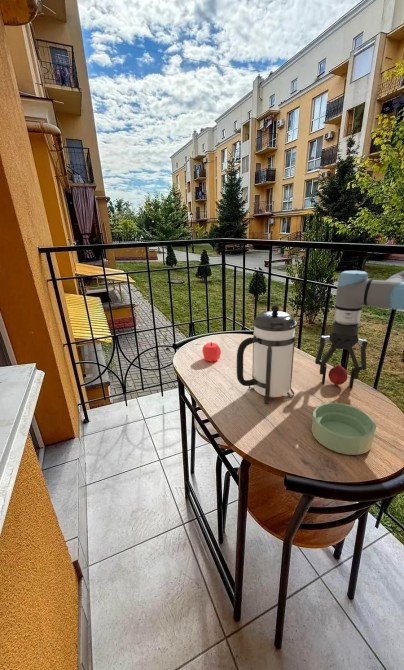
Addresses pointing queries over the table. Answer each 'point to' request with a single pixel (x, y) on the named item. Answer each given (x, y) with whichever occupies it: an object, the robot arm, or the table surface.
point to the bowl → (343, 428)
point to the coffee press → (270, 354)
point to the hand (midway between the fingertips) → (336, 384)
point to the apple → (211, 352)
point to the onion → (338, 375)
